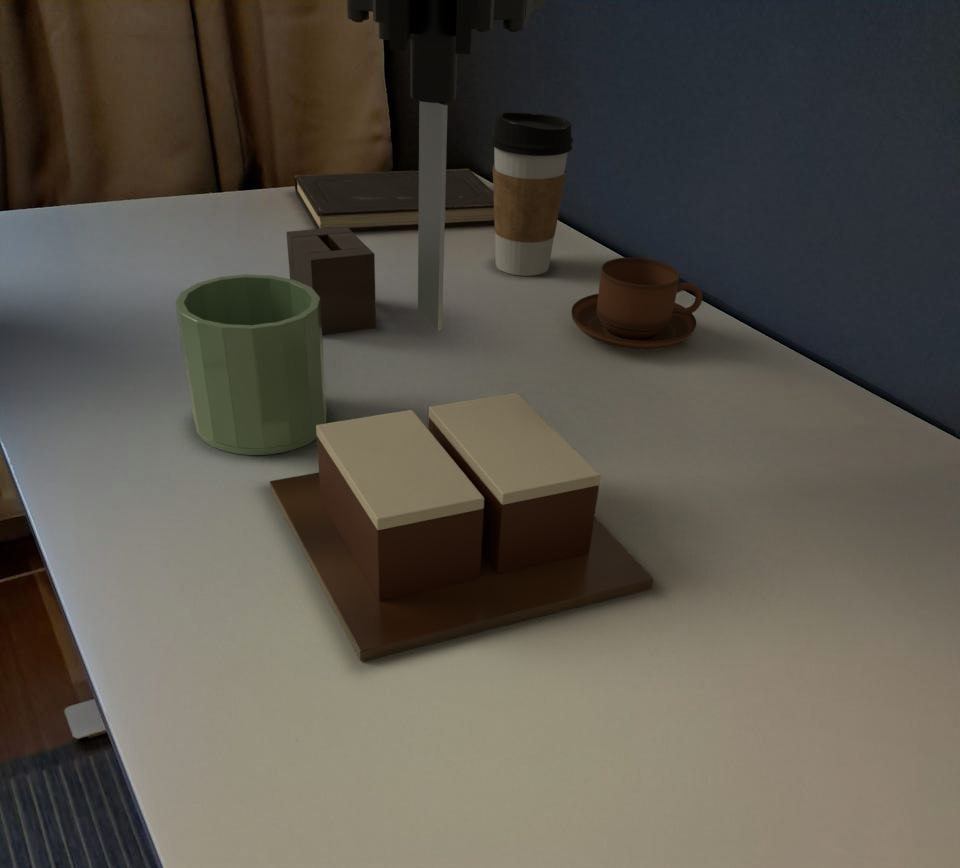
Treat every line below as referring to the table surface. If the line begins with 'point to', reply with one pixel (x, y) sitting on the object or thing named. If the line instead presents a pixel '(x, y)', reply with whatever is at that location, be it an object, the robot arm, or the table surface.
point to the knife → (432, 138)
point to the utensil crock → (253, 362)
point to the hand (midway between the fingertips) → (430, 20)
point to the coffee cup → (528, 188)
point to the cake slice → (520, 480)
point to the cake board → (455, 605)
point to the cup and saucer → (637, 306)
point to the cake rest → (400, 503)
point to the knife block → (336, 276)
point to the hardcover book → (390, 200)
